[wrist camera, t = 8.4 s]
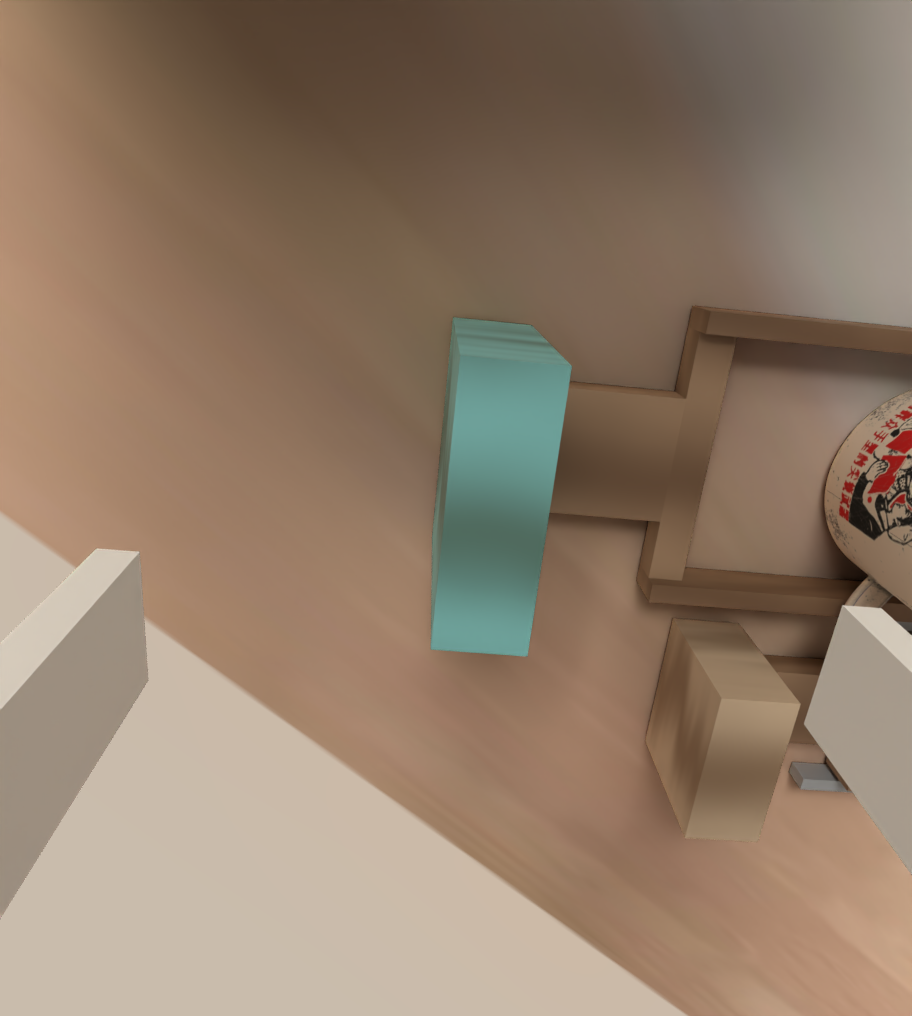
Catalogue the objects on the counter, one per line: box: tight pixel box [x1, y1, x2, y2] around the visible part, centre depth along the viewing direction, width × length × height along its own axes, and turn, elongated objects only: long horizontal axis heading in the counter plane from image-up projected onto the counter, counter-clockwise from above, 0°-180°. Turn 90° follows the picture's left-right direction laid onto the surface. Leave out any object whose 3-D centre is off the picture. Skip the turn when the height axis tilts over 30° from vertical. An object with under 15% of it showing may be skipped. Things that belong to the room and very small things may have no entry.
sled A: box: [431, 306, 912, 656], centre depth 26 cm, size 12×26×9 cm, turn 84°
